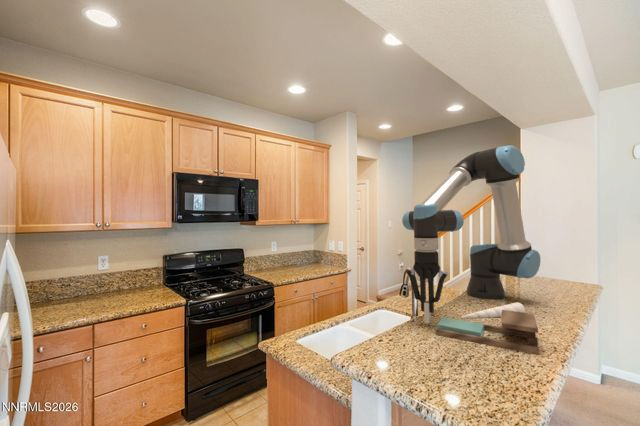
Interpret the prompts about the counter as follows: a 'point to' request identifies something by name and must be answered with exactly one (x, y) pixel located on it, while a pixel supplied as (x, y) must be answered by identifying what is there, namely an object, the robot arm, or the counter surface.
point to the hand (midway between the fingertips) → (427, 321)
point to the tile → (461, 326)
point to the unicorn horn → (496, 311)
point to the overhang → (505, 332)
